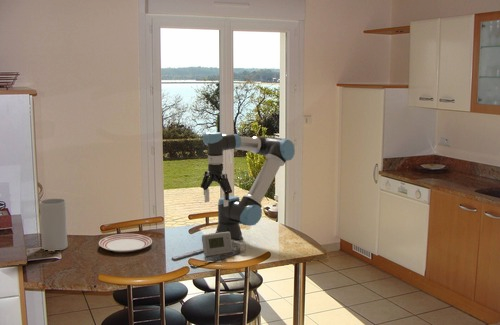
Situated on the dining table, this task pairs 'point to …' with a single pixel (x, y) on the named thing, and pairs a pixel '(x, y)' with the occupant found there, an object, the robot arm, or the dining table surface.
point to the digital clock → (217, 244)
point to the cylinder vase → (53, 224)
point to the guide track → (237, 248)
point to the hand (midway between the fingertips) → (216, 204)
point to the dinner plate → (125, 242)
